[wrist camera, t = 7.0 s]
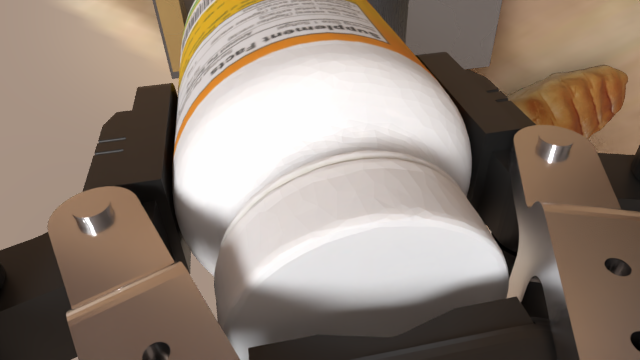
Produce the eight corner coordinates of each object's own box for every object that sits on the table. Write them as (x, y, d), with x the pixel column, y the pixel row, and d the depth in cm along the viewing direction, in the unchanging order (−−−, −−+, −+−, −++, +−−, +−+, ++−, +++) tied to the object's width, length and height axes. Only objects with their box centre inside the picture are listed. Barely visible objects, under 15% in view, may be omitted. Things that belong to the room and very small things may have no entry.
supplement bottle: (364, 118, 16) (511, 396, 8) (199, 136, 15) (199, 461, 8) (374, -59, 13) (631, 137, 5) (163, -48, 12) (100, 205, 4)
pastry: (606, 34, 32) (647, 57, 29) (615, 106, 36) (652, 133, 33) (478, 105, 34) (505, 134, 31) (501, 167, 38) (527, 198, 35)
